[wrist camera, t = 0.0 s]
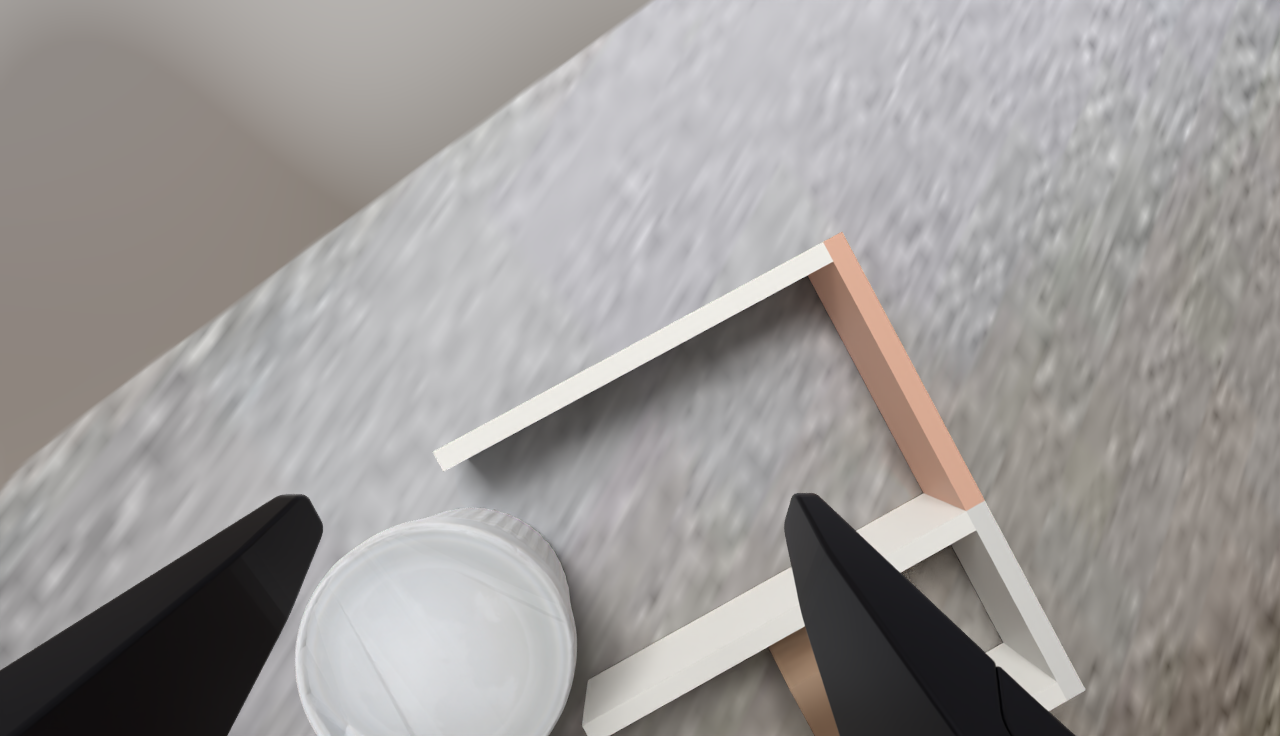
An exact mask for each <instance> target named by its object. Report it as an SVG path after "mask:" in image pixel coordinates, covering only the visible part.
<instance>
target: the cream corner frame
mask: <svg viewBox="0 0 1280 736" xmlns="http://www.w3.org/2000/svg"><path fill="white" fill-rule="evenodd" d="M807 275H808V277H809V279H810V281H811V283H812V284H813V286H814V288H815V290H816V292H817V294H818V296H819V298H820V300H821V301H822V303H823V305H824V307H825V309H826V311H827V313H828V315H829V316H830V318H831V320H832V322H833V324H834V326H835V328H836V330H837V331H838V333H839V335H840V337H841V339H842V341H843V343H844V345H845V346H846V348H847V350H848V352H849V354H850V356H851V358H852V360H853V361H854V363H855V365H856V367H857V369H858V371H859V373H860V375H861V376H862V378H863V380H864V382H865V384H866V386H867V388H868V390H869V391H870V393H871V395H872V397H873V399H874V401H875V403H876V405H877V406H878V408H879V410H880V412H881V414H882V416H883V418H884V420H885V422H886V423H887V425H888V427H889V429H890V431H891V433H892V435H893V437H894V438H895V440H896V442H897V444H898V446H899V448H900V450H901V452H902V453H903V455H904V457H905V459H906V461H907V463H908V465H909V467H910V468H911V470H912V472H913V474H914V476H915V478H916V480H917V482H918V483H919V485H920V487H921V489H922V491H923V494H921V495H920V496H918V497H916V498H914V499H912V500H911V501H909V502H907V503H905V504H903V505H902V506H900V507H898V508H896V509H894V510H893V511H891V512H889V513H887V514H885V515H884V516H882V517H880V518H878V519H876V520H875V521H873V522H871V523H869V524H867V525H866V526H864V527H862V528H860V529H858V530H857V532H858V533H859V534H860V535H861V536H862V537H863V538H864V539H865V540H866V541H867V542H868V543H869V544H870V545H871V546H873V547H874V548H875V549H876V550H877V551H878V552H879V553H880V554H881V555H882V556H883V557H884V558H885V559H886V560H887V561H888V562H890V563H891V564H892V565H893V566H894V567H895V568H896V569H897V570H898V571H899V572H900V573H901V572H902V571H904V570H906V569H908V568H910V567H911V566H913V565H915V564H917V563H919V562H920V561H922V560H924V559H926V558H927V557H929V556H931V555H933V554H935V553H936V552H938V551H940V550H942V549H944V548H945V547H947V546H949V545H952V547H953V549H954V551H955V553H956V555H957V557H958V559H959V560H960V562H961V564H962V566H963V568H964V570H965V572H966V574H967V575H968V577H969V579H970V581H971V583H972V585H973V587H974V589H975V590H976V592H977V594H978V596H979V598H980V600H981V602H982V604H983V605H984V607H985V609H986V611H987V613H988V615H989V617H990V619H991V620H992V622H993V624H994V626H995V628H996V630H997V632H998V634H999V635H1000V637H1001V639H1002V641H1003V643H1002V644H1000V645H998V646H997V647H995V648H993V649H991V650H990V651H988V652H986V654H987V655H988V656H989V657H990V658H991V659H993V660H994V662H995V664H996V666H999V667H1001V668H1002V669H1003V670H1004V671H1006V672H1007V673H1008V674H1009V675H1010V676H1011V677H1012V678H1013V679H1014V680H1015V681H1016V682H1017V683H1018V684H1019V685H1020V686H1021V687H1023V688H1024V689H1025V690H1026V691H1027V692H1028V693H1029V694H1030V695H1031V696H1032V697H1033V698H1035V699H1036V700H1037V701H1038V702H1039V703H1040V704H1041V705H1042V706H1043V707H1044V708H1045V709H1047V710H1048V711H1050V710H1052V709H1054V708H1055V707H1057V706H1059V705H1061V704H1062V703H1064V702H1066V701H1068V700H1069V699H1071V698H1073V697H1074V696H1076V695H1078V694H1080V693H1081V692H1083V691H1085V688H1084V686H1083V684H1082V682H1081V681H1080V679H1079V677H1078V675H1077V673H1076V671H1075V669H1074V667H1073V666H1072V664H1071V662H1070V660H1069V658H1068V656H1067V654H1066V652H1065V650H1064V649H1063V647H1062V645H1061V643H1060V641H1059V639H1058V637H1057V635H1056V634H1055V632H1054V630H1053V628H1052V626H1051V624H1050V622H1049V620H1048V618H1047V617H1046V615H1045V613H1044V611H1043V609H1042V607H1041V605H1040V603H1039V601H1038V600H1037V598H1036V596H1035V594H1034V592H1033V590H1032V588H1031V586H1030V585H1029V583H1028V581H1027V579H1026V577H1025V575H1024V573H1023V571H1022V569H1021V568H1020V566H1019V564H1018V562H1017V560H1016V558H1015V556H1014V554H1013V553H1012V551H1011V549H1010V547H1009V545H1008V543H1007V541H1006V539H1005V537H1004V536H1003V534H1002V532H1001V530H1000V528H999V526H998V524H997V522H996V521H995V519H994V517H993V515H992V513H991V511H990V509H989V507H988V505H987V504H986V502H985V500H984V498H983V496H982V494H981V492H980V490H979V489H978V487H977V485H976V483H975V481H974V479H973V477H972V475H971V473H970V472H969V470H968V468H967V466H966V464H965V462H964V460H963V458H962V457H961V455H960V453H959V451H958V449H957V447H956V445H955V443H954V441H953V440H952V438H951V436H950V434H949V432H948V430H947V428H946V426H945V425H944V423H943V421H942V419H941V417H940V415H939V413H938V411H937V409H936V408H935V406H934V404H933V402H932V400H931V398H930V396H929V394H928V393H927V391H926V389H925V387H924V385H923V383H922V381H921V379H920V377H919V376H918V374H917V372H916V370H915V368H914V366H913V364H912V362H911V361H910V359H909V357H908V355H907V353H906V351H905V349H904V347H903V345H902V344H901V342H900V340H899V338H898V336H897V334H896V332H895V330H894V329H893V327H892V325H891V323H890V321H889V319H888V317H887V315H886V313H885V312H884V310H883V308H882V306H881V304H880V302H879V300H878V298H877V297H876V295H875V293H874V291H873V289H872V287H871V285H870V283H869V281H868V280H867V278H866V276H865V274H864V272H863V270H862V268H861V266H860V265H859V263H858V261H857V259H856V257H855V255H854V253H853V251H852V249H851V248H850V246H849V244H848V242H847V240H846V238H845V236H844V234H843V233H842V232H841V233H839V234H837V235H835V236H833V237H832V238H830V239H828V240H826V241H824V242H822V243H820V244H819V245H817V246H815V247H813V248H811V249H809V250H807V251H806V252H804V253H802V254H800V255H798V256H796V257H794V258H793V259H791V260H789V261H787V262H785V263H783V264H781V265H779V266H778V267H776V268H774V269H772V270H770V271H768V272H766V273H765V274H763V275H761V276H759V277H757V278H755V279H753V280H752V281H750V282H748V283H746V284H744V285H742V286H740V287H739V288H737V289H735V290H733V291H731V292H729V293H727V294H726V295H724V296H722V297H720V298H718V299H716V300H714V301H713V302H711V303H709V304H707V305H705V306H703V307H701V308H699V309H698V310H696V311H694V312H692V313H690V314H688V315H686V316H685V317H683V318H681V319H679V320H677V321H675V322H673V323H672V324H670V325H668V326H666V327H664V328H662V329H660V330H659V331H657V332H655V333H653V334H651V335H649V336H647V337H646V338H644V339H642V340H640V341H638V342H636V343H634V344H633V345H631V346H629V347H627V348H625V349H623V350H621V351H620V352H618V353H616V354H614V355H612V356H610V357H608V358H606V359H605V360H603V361H601V362H599V363H597V364H595V365H593V366H592V367H590V368H588V369H586V370H584V371H582V372H580V373H579V374H577V375H575V376H573V377H571V378H569V379H567V380H566V381H564V382H562V383H560V384H558V385H556V386H554V387H553V388H551V389H549V390H547V391H545V392H543V393H541V394H540V395H538V396H536V397H534V398H532V399H530V400H528V401H526V402H525V403H523V404H521V405H519V406H517V407H515V408H513V409H512V410H510V411H508V412H506V413H504V414H502V415H500V416H499V417H497V418H495V419H493V420H491V421H489V422H487V423H486V424H484V425H482V426H480V427H478V428H476V429H474V430H473V431H471V432H469V433H467V434H465V435H463V436H461V437H460V438H458V439H456V440H454V441H452V442H450V443H448V444H446V445H445V446H443V447H441V448H439V449H437V450H435V451H433V454H434V456H435V457H436V459H437V461H438V463H439V465H440V467H441V468H442V470H443V472H444V471H446V470H447V469H449V468H451V467H453V466H455V465H457V464H458V463H460V462H462V461H464V460H466V459H468V458H470V457H471V456H473V455H475V454H477V453H479V452H481V451H483V450H484V449H486V448H488V447H490V446H492V445H494V444H496V443H497V442H499V441H501V440H503V439H505V438H507V437H509V436H510V435H512V434H514V433H516V432H518V431H520V430H522V429H523V428H525V427H527V426H529V425H531V424H533V423H535V422H536V421H538V420H540V419H542V418H544V417H546V416H548V415H549V414H551V413H553V412H555V411H557V410H559V409H561V408H562V407H564V406H566V405H568V404H570V403H572V402H574V401H575V400H577V399H579V398H581V397H583V396H585V395H586V394H588V393H590V392H592V391H594V390H596V389H598V388H599V387H601V386H603V385H605V384H607V383H609V382H611V381H612V380H614V379H616V378H618V377H620V376H622V375H624V374H625V373H627V372H629V371H631V370H633V369H635V368H637V367H638V366H640V365H642V364H644V363H646V362H648V361H650V360H651V359H653V358H655V357H657V356H659V355H661V354H663V353H664V352H666V351H668V350H670V349H672V348H674V347H676V346H677V345H679V344H681V343H683V342H685V341H687V340H689V339H690V338H692V337H694V336H696V335H698V334H700V333H702V332H703V331H705V330H707V329H709V328H711V327H713V326H714V325H716V324H718V323H720V322H722V321H724V320H726V319H727V318H729V317H731V316H733V315H735V314H737V313H739V312H740V311H742V310H744V309H746V308H748V307H750V306H752V305H753V304H755V303H757V302H759V301H761V300H763V299H765V298H766V297H768V296H770V295H772V294H774V293H776V292H778V291H779V290H781V289H783V288H785V287H787V286H789V285H791V284H792V283H794V282H796V281H798V280H800V279H802V278H804V277H805V276H807ZM804 626H805V624H804V621H803V618H802V614H801V610H800V605H799V601H798V596H797V591H796V586H795V581H794V576H793V571H792V567H790V568H788V569H787V570H785V571H783V572H781V573H779V574H778V575H776V576H774V577H772V578H770V579H769V580H767V581H765V582H763V583H761V584H760V585H758V586H756V587H754V588H752V589H751V590H749V591H747V592H745V593H743V594H742V595H740V596H738V597H736V598H734V599H733V600H731V601H729V602H727V603H725V604H724V605H722V606H720V607H718V608H716V609H715V610H713V611H711V612H709V613H707V614H706V615H704V616H702V617H700V618H698V619H697V620H695V621H693V622H691V623H689V624H688V625H686V626H684V627H682V628H680V629H679V630H677V631H675V632H673V633H671V634H670V635H668V636H666V637H664V638H662V639H661V640H659V641H657V642H655V643H653V644H652V645H650V646H648V647H646V648H645V649H643V650H641V651H639V652H637V653H636V654H634V655H632V656H630V657H628V658H627V659H625V660H623V661H621V662H619V663H618V664H616V665H614V666H612V667H610V668H609V669H607V670H605V671H603V672H601V673H600V674H598V675H596V676H594V677H592V678H591V679H589V680H588V683H587V691H586V699H585V706H584V714H583V722H582V727H583V728H584V730H585V732H586V734H587V736H610V735H612V734H613V733H615V732H617V731H619V730H620V729H622V728H624V727H626V726H628V725H629V724H631V723H633V722H635V721H637V720H638V719H640V718H642V717H644V716H645V715H647V714H649V713H651V712H653V711H654V710H656V709H658V708H660V707H662V706H663V705H665V704H667V703H669V702H670V701H672V700H674V699H676V698H678V697H679V696H681V695H683V694H685V693H687V692H688V691H690V690H692V689H694V688H695V687H697V686H699V685H701V684H703V683H704V682H706V681H708V680H710V679H712V678H713V677H715V676H717V675H719V674H720V673H722V672H724V671H726V670H728V669H729V668H731V667H733V666H735V665H736V664H738V663H740V662H742V661H744V660H745V659H747V658H749V657H751V656H753V655H754V654H756V653H758V652H760V651H761V650H763V649H765V648H767V647H769V646H770V645H772V644H774V643H776V642H778V641H779V640H781V639H783V638H785V637H786V636H788V635H790V634H792V633H794V632H795V631H797V630H799V629H801V628H803V627H804Z"/></svg>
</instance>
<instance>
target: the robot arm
mask: <svg viewBox="0 0 1280 736" xmlns="http://www.w3.org/2000/svg"><path fill="white" fill-rule="evenodd" d="M784 531H785V537H786V542H787V547H788V552H789V557H790V562H791V566H792V571H793V576H794V581H795V586H796V591H797V596H798V601H799V605H800V610H801V614H802V618H803V621H804V624H805V628H806V631H807V634H808V637H809V641H810V644H811V647H812V650H813V653H814V656H815V660H816V663H817V666H818V669H819V672H820V675H821V678H822V682H823V685H824V688H825V691H826V694H827V697H828V701H829V704H830V707H831V710H832V713H833V716H834V719H835V723H836V726H837V729H838V732H839V735H840V736H1076V735H1074V734H1073V733H1072V732H1071V731H1070V730H1069V729H1067V728H1066V727H1065V726H1064V725H1063V724H1062V723H1061V722H1060V721H1059V720H1058V719H1056V718H1055V717H1054V716H1053V715H1052V714H1051V713H1050V712H1049V711H1048V710H1047V709H1045V708H1044V707H1043V706H1042V705H1041V704H1040V703H1039V702H1038V701H1037V700H1036V699H1035V698H1033V697H1032V696H1031V695H1030V694H1029V693H1028V692H1027V691H1026V690H1025V689H1024V688H1023V687H1021V686H1020V685H1019V684H1018V683H1017V682H1016V681H1015V680H1014V679H1013V678H1012V677H1011V676H1010V675H1009V674H1008V673H1007V672H1006V671H1004V670H1003V669H1002V668H1001V667H999V666H996V664H995V662H994V660H993V659H991V658H990V657H989V656H988V655H987V654H986V653H985V652H984V651H983V650H982V649H981V648H980V647H979V646H978V645H977V644H976V643H974V642H973V641H972V640H971V639H970V638H969V637H968V636H967V635H966V634H965V633H964V632H963V631H962V630H961V629H960V628H959V627H957V626H956V625H955V624H954V623H953V622H952V621H951V620H950V619H949V618H948V617H947V616H946V615H945V614H944V613H943V612H942V611H940V610H939V609H938V608H937V607H936V606H935V605H934V604H933V603H932V602H931V601H930V600H929V599H928V598H927V597H926V596H925V595H923V594H922V593H921V592H920V591H919V590H918V589H917V588H916V587H915V586H914V585H913V584H912V583H911V582H910V581H909V580H908V579H907V578H905V577H904V576H903V575H902V574H901V573H900V572H899V571H898V570H897V569H896V568H895V567H894V566H893V565H892V564H891V563H890V562H888V561H887V560H886V559H885V558H884V557H883V556H882V555H881V554H880V553H879V552H878V551H877V550H876V549H875V548H874V547H873V546H871V545H870V544H869V543H868V542H867V541H866V540H865V539H864V538H863V537H862V536H861V535H860V534H859V533H858V532H857V531H856V530H854V529H853V528H852V527H851V526H850V525H849V524H848V523H847V522H846V521H845V520H844V519H843V518H842V517H841V516H840V515H839V514H837V513H836V512H835V511H834V510H833V509H832V508H831V507H830V506H829V505H828V504H827V503H826V502H825V501H824V500H823V499H822V498H820V497H819V496H818V495H816V494H814V493H796V494H794V495H793V496H792V498H791V501H790V505H789V508H788V512H787V515H786V519H785V524H784ZM322 533H323V524H322V521H321V519H320V518H319V516H318V514H317V512H316V510H315V508H314V506H313V505H312V503H311V501H310V499H309V498H308V497H307V496H305V495H302V494H286V495H280V496H277V497H275V498H274V499H272V500H270V501H269V502H267V503H266V504H264V505H262V506H261V507H259V508H258V509H256V510H255V511H253V512H251V513H250V514H248V515H247V516H245V517H243V518H242V519H240V520H239V521H237V522H235V523H234V524H232V525H231V526H229V527H228V528H226V529H224V530H223V531H221V532H220V533H218V534H216V535H215V536H213V537H212V538H210V539H208V540H207V541H205V542H204V543H202V544H200V545H199V546H197V547H196V548H194V549H193V550H191V551H189V552H188V553H186V554H185V555H183V556H181V557H180V558H178V559H177V560H175V561H173V562H172V563H170V564H169V565H167V566H166V567H164V568H162V569H161V570H159V571H158V572H156V573H154V574H153V575H151V576H150V577H148V578H146V579H145V580H143V581H142V582H140V583H138V584H137V585H135V586H134V587H132V588H131V589H129V590H127V591H126V592H124V593H123V594H121V595H119V596H118V597H116V598H115V599H113V600H111V601H110V602H108V603H107V604H105V605H103V606H102V607H100V608H99V609H97V610H95V611H94V612H92V613H91V614H89V615H88V616H86V617H84V618H83V619H81V620H80V621H78V622H76V623H75V624H73V625H72V626H70V627H68V628H67V629H65V630H64V631H62V632H60V633H59V634H57V635H56V636H54V637H53V638H51V639H49V640H48V641H46V642H45V643H43V644H41V645H40V646H38V647H37V648H35V649H33V650H32V651H30V652H29V653H27V654H25V655H24V656H22V657H21V658H19V659H18V660H16V661H14V662H13V663H11V664H10V665H8V666H6V667H5V668H3V669H2V670H0V736H227V735H228V733H229V731H230V730H231V728H232V726H233V724H234V722H235V720H236V718H237V716H238V714H239V712H240V710H241V708H242V707H243V705H244V703H245V701H246V699H247V697H248V695H249V693H250V691H251V689H252V687H253V685H254V684H255V682H256V680H257V678H258V676H259V674H260V672H261V670H262V668H263V666H264V664H265V662H266V661H267V659H268V657H269V655H270V653H271V651H272V649H273V647H274V645H275V643H276V641H277V639H278V638H279V636H280V634H281V632H282V630H283V628H284V626H285V624H286V622H287V619H288V617H289V615H290V613H291V610H292V608H293V606H294V604H295V601H296V599H297V596H298V594H299V591H300V589H301V586H302V584H303V581H304V579H305V576H306V574H307V572H308V569H309V567H310V564H311V562H312V559H313V557H314V554H315V552H316V549H317V547H318V544H319V542H320V540H321V537H322Z"/></svg>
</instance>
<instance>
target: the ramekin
mask: <svg viewBox="0 0 1280 736" xmlns="http://www.w3.org/2000/svg"><path fill="white" fill-rule="evenodd" d="M576 658H577V634H576V627H575V621H574V616H573V612H572V609H571V602H570V594H569V586H568V584H567V581H566V575H565V573H564V571H563V569H562V565H561V563H560V561H559V559H558V558H557V555H556V553H555V551H554V550H553V549H552V548H551V546H550V544H549V543H548V542H547V541H546V540H544V539H543V537H542V536H541V534H540V533H538V532H537V531H535V530H534V529H533V528H532V527H531V526H530V525H528V524H526V523H524V522H523V521H522V520H520V519H518V518H515V517H513V516H511V515H509V514H506V513H501V512H499V511H497V510H488V509H485V508H471V507H470V508H458V509H454V510H451V511H444V512H441V513H438V514H436V515H433V516H430V517H428V518H424V519H419V520H414V521H410V522H406V523H402V524H399V525H396V526H394V527H391V528H389V529H387V530H384V531H382V532H380V533H378V534H376V535H374V536H372V537H371V538H369V539H368V540H366V541H365V542H363V543H362V544H360V545H359V546H357V547H356V548H354V549H353V550H352V551H350V552H349V553H348V554H347V555H345V556H344V557H343V558H341V559H340V560H339V561H338V562H337V563H336V564H335V565H334V566H333V567H332V568H331V569H330V570H329V572H328V573H327V574H326V575H325V576H324V578H323V579H322V581H321V582H320V583H319V585H318V586H317V588H316V589H315V591H314V593H313V594H312V596H311V598H310V600H309V602H308V604H307V606H306V609H305V611H304V614H303V616H302V620H301V623H300V626H299V629H298V635H297V640H296V648H295V671H296V681H297V687H298V691H299V696H300V699H301V702H302V705H303V709H304V711H305V713H306V716H307V718H308V720H309V722H310V724H311V726H312V728H313V729H314V731H315V733H316V734H317V736H549V734H550V733H551V731H552V730H553V728H554V727H555V725H556V723H557V721H558V719H559V718H560V716H561V714H562V712H563V709H564V707H565V705H566V702H567V700H568V697H569V693H570V690H571V686H572V682H573V678H574V672H575V666H576Z"/></svg>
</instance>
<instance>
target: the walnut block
mask: <svg viewBox="0 0 1280 736" xmlns="http://www.w3.org/2000/svg"><path fill="white" fill-rule="evenodd" d="M769 649H770V651H771V653H772V655H773V657H774V659H775V661H776V663H777V665H778V667H779V669H780V671H781V673H782V675H783V677H784V679H785V681H786V683H787V685H788V687H789V689H790V691H791V693H792V695H793V696H794V698H795V700H796V702H797V704H798V706H799V708H800V709H801V711H802V713H803V715H804V717H805V719H806V721H807V722H808V724H809V726H810V728H811V730H812V732H813V733H814V735H815V736H840V735H839V732H838V729H837V726H836V723H835V719H834V716H833V713H832V710H831V707H830V704H829V701H828V697H827V694H826V691H825V688H824V685H823V682H822V678H821V675H820V672H819V669H818V666H817V663H816V660H815V656H814V653H813V650H812V647H811V644H810V641H809V637H808V634H807V631H806V628H805V626H804V627H803V628H801V629H799V630H797V631H795V632H794V633H792V634H790V635H788V636H786V637H785V638H783V639H781V640H779V641H778V642H776V643H774V644H772V645H770V646H769Z"/></svg>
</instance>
